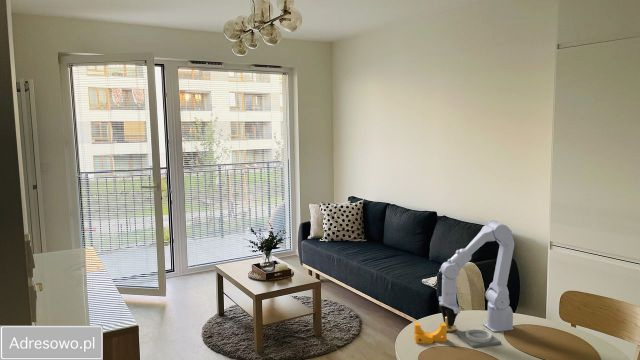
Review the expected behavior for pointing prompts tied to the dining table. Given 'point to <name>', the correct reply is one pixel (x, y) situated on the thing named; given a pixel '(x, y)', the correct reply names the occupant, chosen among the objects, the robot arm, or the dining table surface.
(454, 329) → the brass cabinet knob
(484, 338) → the carrier plate
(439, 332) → the pipe clamp
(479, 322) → the dining table surface
